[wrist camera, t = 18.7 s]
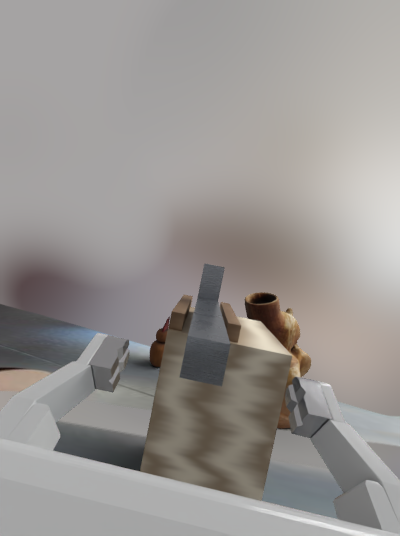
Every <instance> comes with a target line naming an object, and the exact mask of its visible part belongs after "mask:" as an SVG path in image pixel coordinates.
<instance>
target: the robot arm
mask: <svg viewBox="0 0 400 536" xmlns="http://www.w3.org/2000/svg"><path fill="white" fill-rule="evenodd" d="M128 346H129V340H126V339H122V338H118V337H114V336H110V335H106V334H101V333H98V334H96V335H95V336H94V338H93V339H92V340H91V342H90V343H89V345H88V346H87V347H86V349H85V350H84V352H83V353H82V354H81V356H80V357H79V359H78V360H77V361H76V362H74V361H73V362H71V363H69V364H67V365H66V366H64V367H62V368H61V369H59V370H57V371H55V372H54V373H52V374H50V375H48V376H47V377H45V378H43V379H41V380H40V381H38V382H36V383H35V384H33V385H31V386H29V387H28V388H26V389H24V390H22V391H21V392H19V393H17V394H16V395H14V396H13V397H12V398H11V399H10V400H9V402H8V403H7V404H6V405H5V406H4V407H3V408H2V409H1V411H0V536H400V480H399V479H398V478H397V477H396V476H395V475H394V474H393V472H392V471H391V470H390V469H389V468H388V467H387V466H386V464H385V463H384V462H383V461H382V460H381V459H380V458H379V457H378V456H377V454H376V453H375V452H374V451H373V450H372V449H371V448H370V447H369V445H368V444H367V443H366V442H365V441H364V440H363V439H362V438H361V436H360V435H359V434H358V433H357V432H356V431H355V430H354V429H353V427H352V426H351V425H350V424H349V423H346V422H345V420H344V417H343V415H342V412H341V410H340V407H339V405H338V402H337V400H336V397H335V395H334V392H333V390H332V387H331V386H330V385H329V384H328V383H323V382H318V381H315V380H311V379H306V378H301V377H294V378H293V380H292V383H293V384H292V385H289V386H288V387H287V389H286V393H285V402H286V407H287V408H288V410H289V411H290V412H291V413H290V415H289V417H288V418H289V423H290V428H291V433H292V434H296V435H300V436H304V437H308V438H311V441H312V443H313V445H314V446H315V448H316V449H317V451H318V452H319V454H320V456H321V457H322V459H323V460H324V462H325V464H326V465H327V467H328V469H329V470H330V472H331V473H332V475H333V477H334V478H335V480H336V481H337V483H338V485H339V486H340V488H341V489H342V491H343V494H342V495H340V496H338V497H337V498H335V500H334V501H333V503H334V506H335V510H336V514H337V518H338V519H334V518H330V517H326V516H322V515H318V514H314V513H310V512H305V511H301V510H297V509H293V508H289V507H285V506H281V505H276V504H272V503H268V502H264V501H260V500H256V499H252V498H247V497H243V496H239V495H235V494H231V493H227V492H223V491H218V490H214V489H210V488H206V487H202V486H198V485H194V484H189V483H185V482H181V481H177V480H173V479H169V478H165V477H160V476H156V475H152V474H148V473H144V472H140V471H136V470H131V469H127V468H123V467H119V466H115V465H111V464H107V463H102V462H98V461H94V460H90V459H86V458H82V457H78V456H73V455H69V454H65V453H61V452H57V451H53V449H54V447H55V445H56V444H57V442H58V440H59V438H60V432H59V430H58V427H57V425H56V422H57V421H58V420H60V419H61V418H62V417H63V416H64V415H66V414H67V413H68V412H69V411H70V410H72V409H73V408H74V407H75V406H77V405H78V404H79V403H80V402H81V401H83V400H84V399H85V398H86V397H87V396H89V395H90V394H91V393H92V392H93V391H95V389H99V390H104V391H109V392H114V390H115V388H116V386H117V383H118V381H119V379H120V372H122V371H123V370H124V369H125V367H126V365H127V361H128V358H129V350H128Z"/></svg>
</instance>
